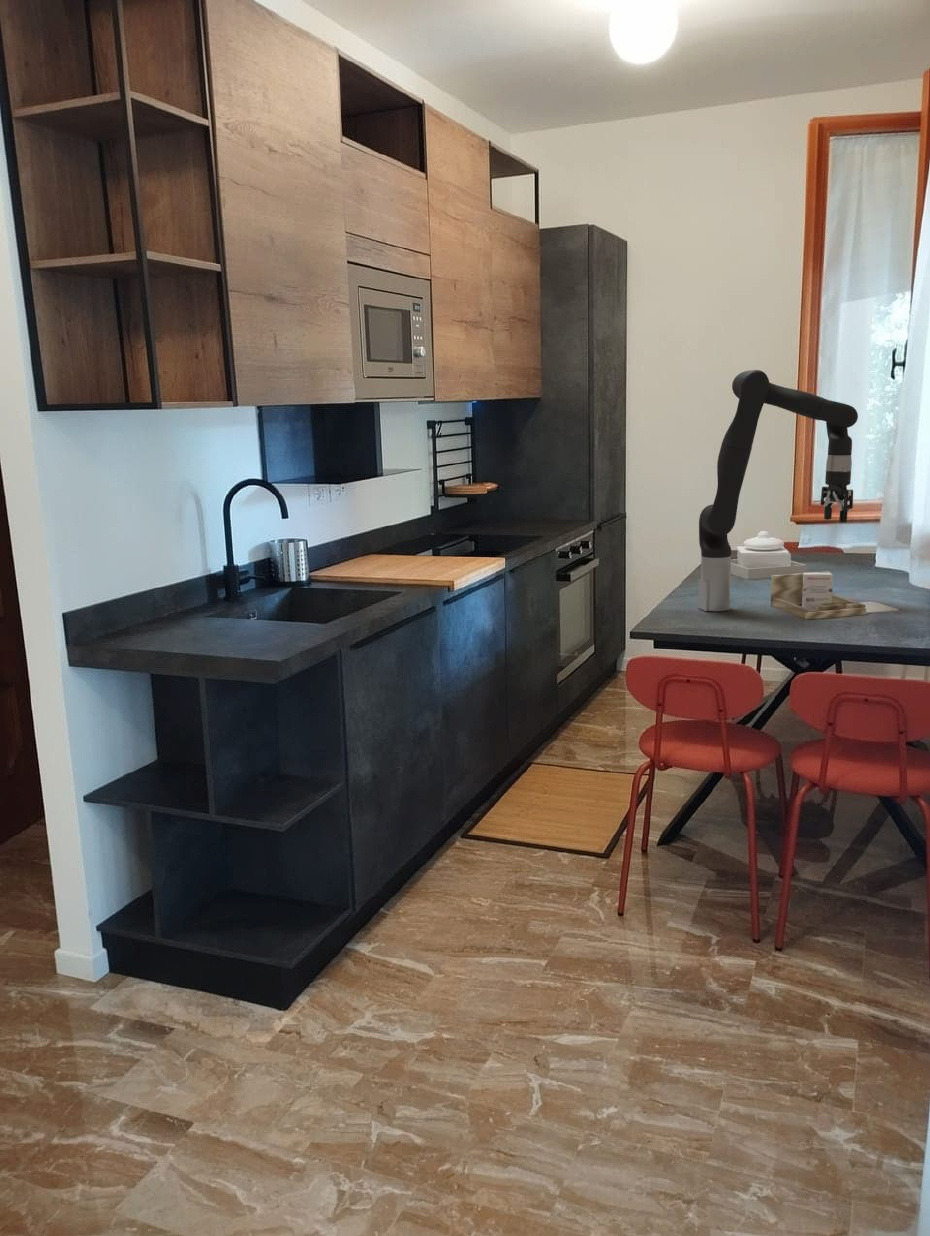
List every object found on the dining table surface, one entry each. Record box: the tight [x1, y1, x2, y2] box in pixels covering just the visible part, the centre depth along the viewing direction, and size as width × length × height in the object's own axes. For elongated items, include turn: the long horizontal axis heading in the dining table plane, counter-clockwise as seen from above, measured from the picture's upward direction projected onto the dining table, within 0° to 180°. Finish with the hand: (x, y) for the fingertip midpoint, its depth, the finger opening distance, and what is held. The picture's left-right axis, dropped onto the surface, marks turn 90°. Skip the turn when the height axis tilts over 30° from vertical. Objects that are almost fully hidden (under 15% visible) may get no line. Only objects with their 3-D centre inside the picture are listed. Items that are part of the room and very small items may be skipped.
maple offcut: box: [846, 603, 859, 609], centre depth 307 cm, size 3×2×3 cm
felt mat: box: [858, 600, 900, 615], centre depth 315 cm, size 12×14×1 cm
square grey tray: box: [731, 558, 808, 581], centre depth 383 cm, size 23×23×4 cm
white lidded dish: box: [735, 530, 792, 568], centre depth 381 cm, size 18×18×16 cm
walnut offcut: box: [819, 604, 844, 611], centre depth 306 cm, size 7×2×2 cm, turn 103°
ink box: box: [801, 572, 834, 612], centre depth 313 cm, size 9×5×12 cm, turn 77°
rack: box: [770, 570, 867, 620], centre depth 313 cm, size 20×22×10 cm
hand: (835, 520), depth 320 cm, fingers open, 8 cm apart
